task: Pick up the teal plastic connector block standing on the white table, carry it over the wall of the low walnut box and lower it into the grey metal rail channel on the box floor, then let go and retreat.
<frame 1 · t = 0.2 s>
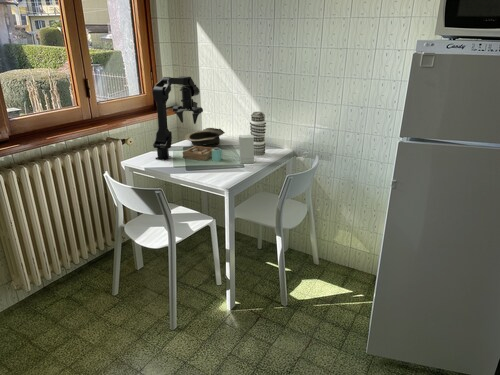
hand: (188, 123, 239), 15 cm above the table, tool pointing down, fingers open, 9 cm apart
walled box: (199, 155, 225), on the table
socket: (199, 152, 224), in the walled box, point 1 cm above the table
stone bowl: (204, 145, 247), on the table
connector: (217, 159, 217), on the table
decorative candle: (258, 155, 225), on the table
skincare box: (246, 162, 214), on the table
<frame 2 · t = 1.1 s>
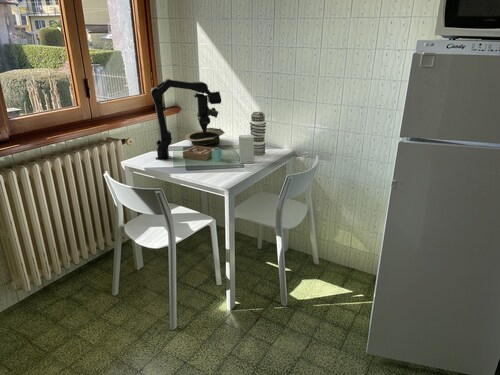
hand: (204, 131, 224), 13 cm above the table, tool pointing down, fingers open, 9 cm apart
nothing on the table moved.
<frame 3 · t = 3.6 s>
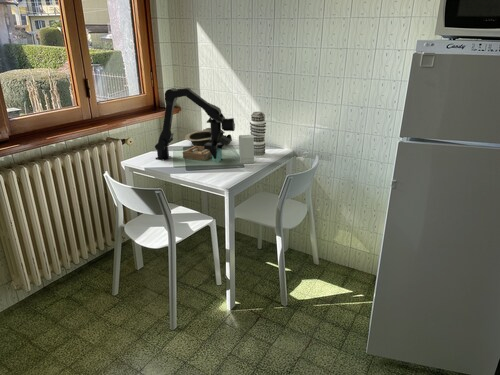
hand: (217, 157, 217), 1 cm above the table, tool pointing down, fingers closed on connector, 4 cm apart
connector: (217, 159, 217), on the table, touching gripper
everything else where it was.
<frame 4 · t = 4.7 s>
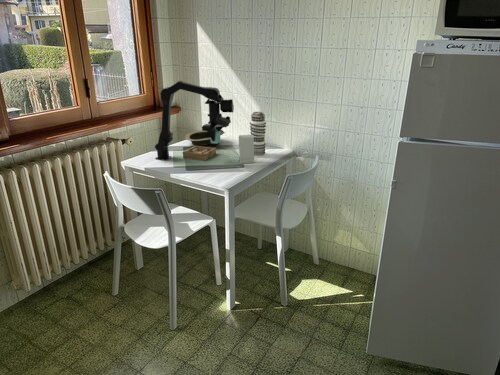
hand: (215, 140, 213), 11 cm above the table, tool pointing down, fingers closed on connector, 4 cm apart
connector: (215, 142, 214), point 10 cm above the table, touching gripper
everything else where it was.
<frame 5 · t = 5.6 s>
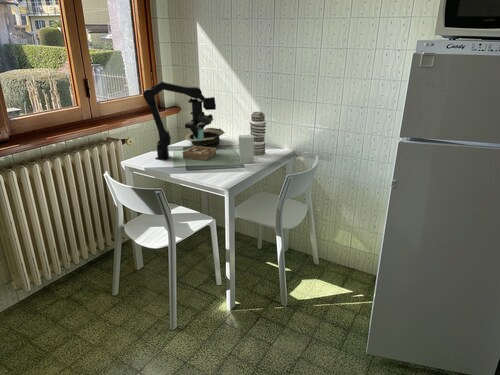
hand: (198, 137, 221), 11 cm above the table, tool pointing down, fingers closed on connector, 4 cm apart
connector: (198, 139, 221), point 10 cm above the table, touching gripper
everything else where it was.
when the fingers open (4 cm above the table, at t = 7.1 s): connector drops 2 cm, resting on walled box.
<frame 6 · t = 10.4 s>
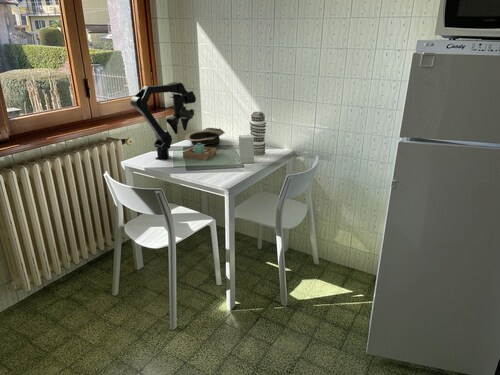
hand: (180, 132, 224), 13 cm above the table, tool pointing down, fingers open, 9 cm apart
connector: (199, 155, 224), resting on walled box
everything else where it was.
at the end: connector 0.0 cm off-centre on the socket, point 0.5 cm above the socket's base; connector tilted 0°; the gripper is holding nothing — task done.
